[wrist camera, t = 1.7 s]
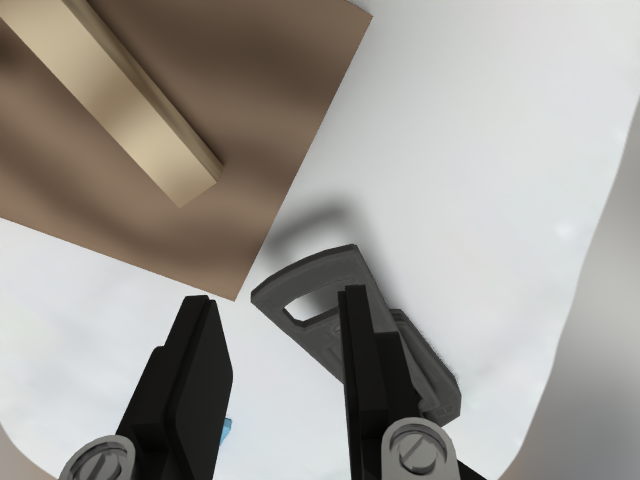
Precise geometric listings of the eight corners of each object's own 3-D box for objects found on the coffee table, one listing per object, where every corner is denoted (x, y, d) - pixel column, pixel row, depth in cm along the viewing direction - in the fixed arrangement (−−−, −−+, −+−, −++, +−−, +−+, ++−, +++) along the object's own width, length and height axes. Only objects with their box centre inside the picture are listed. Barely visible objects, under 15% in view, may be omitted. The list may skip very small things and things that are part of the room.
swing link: (-80, -87, 21) (-126, -97, 18) (-24, -154, 19) (-67, -174, 17) (181, 197, 28) (170, 214, 26) (233, 161, 27) (226, 176, 25)
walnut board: (-78, -240, 19) (-106, -257, 18) (369, 15, 25) (373, 15, 23) (-86, 171, 29) (-105, 179, 28) (237, 290, 34) (234, 301, 33)
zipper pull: (360, 237, 25) (491, 462, 36) (351, 192, 31) (466, 398, 42) (233, 298, 27) (394, 493, 38) (247, 245, 33) (383, 427, 44)
